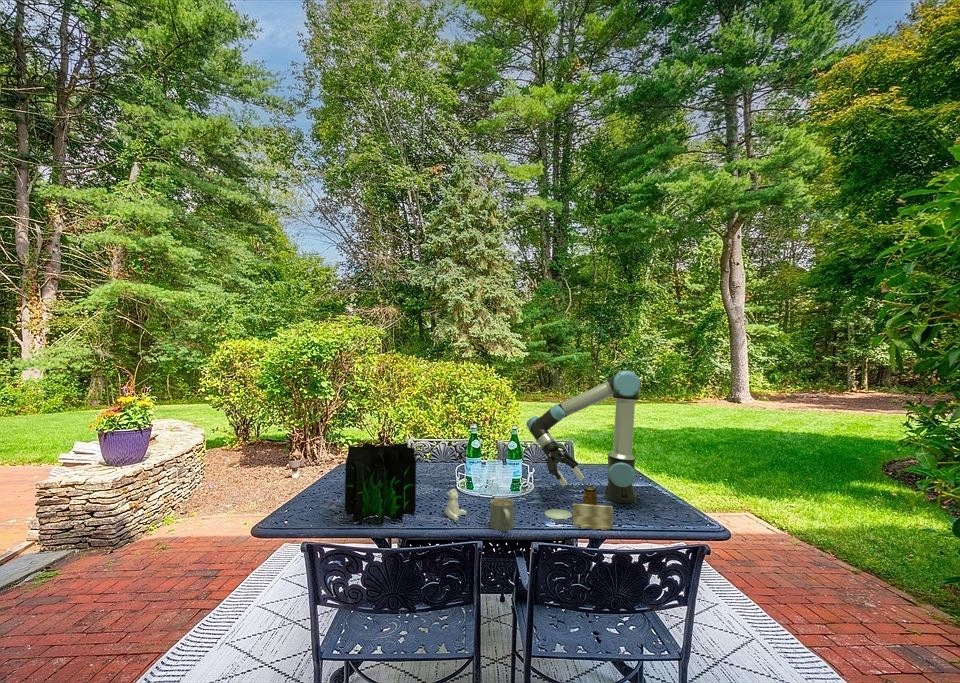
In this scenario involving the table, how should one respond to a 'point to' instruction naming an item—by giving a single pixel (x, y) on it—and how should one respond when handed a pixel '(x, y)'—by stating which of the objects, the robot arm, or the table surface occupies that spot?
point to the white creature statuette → (454, 506)
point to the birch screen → (593, 516)
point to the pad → (558, 514)
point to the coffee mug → (501, 514)
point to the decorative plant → (380, 481)
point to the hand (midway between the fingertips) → (574, 482)
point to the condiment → (590, 496)
